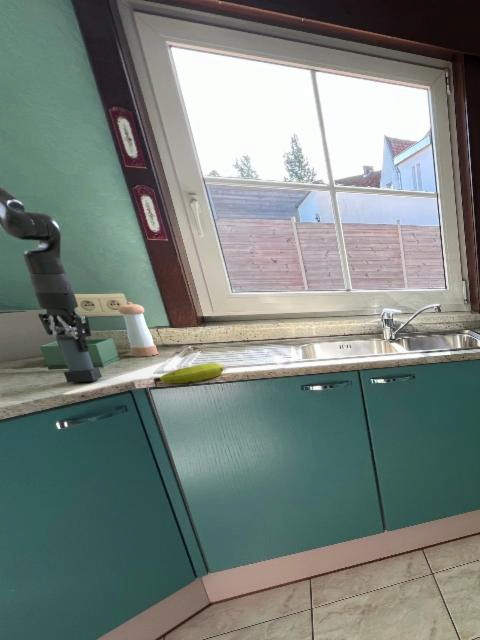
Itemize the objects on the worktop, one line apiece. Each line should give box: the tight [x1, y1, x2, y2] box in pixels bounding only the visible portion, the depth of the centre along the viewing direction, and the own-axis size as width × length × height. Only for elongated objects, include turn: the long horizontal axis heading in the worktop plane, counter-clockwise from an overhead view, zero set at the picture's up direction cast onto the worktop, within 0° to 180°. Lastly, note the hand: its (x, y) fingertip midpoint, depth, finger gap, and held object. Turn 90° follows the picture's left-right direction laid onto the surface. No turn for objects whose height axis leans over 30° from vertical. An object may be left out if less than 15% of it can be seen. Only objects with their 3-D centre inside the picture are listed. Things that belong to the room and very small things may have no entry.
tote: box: [39, 337, 121, 371], centre depth 165 cm, size 14×14×8 cm
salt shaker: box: [118, 301, 159, 358], centre depth 179 cm, size 7×7×19 cm
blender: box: [55, 333, 103, 383], centre depth 144 cm, size 6×6×13 cm
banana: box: [153, 362, 225, 384], centre depth 154 cm, size 5×17×15 cm
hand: (75, 350), depth 143 cm, fingers closed on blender, 5 cm apart
